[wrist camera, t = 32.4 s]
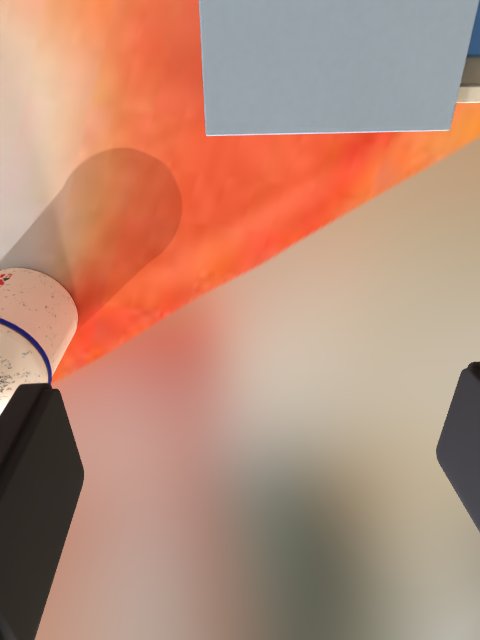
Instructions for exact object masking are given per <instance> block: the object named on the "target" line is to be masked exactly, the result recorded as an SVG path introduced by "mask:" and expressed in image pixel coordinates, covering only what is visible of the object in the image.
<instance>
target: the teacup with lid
mask: <svg viewBox="0 0 480 640" xmlns="http://www.w3.org/2000/svg"><path fill="white" fill-rule="evenodd" d="M77 324H78V313H77V309H76V306H75V303H74V301H73V299H72V298H71V296H70V294H69V293H68V292H67V291H66V290H65V288H64V287H63V286H62V285H60V284H59V283H58V282H57V281H55V280H54V279H52V278H51V277H49V276H47V275H45V274H43V273H41V272H38V271H35V270H31V269H26V268H7V269H3V270H0V415H1V413H2V412H3V410H4V408H5V407H6V405H7V403H8V402H9V400H10V399H11V397H12V395H13V394H14V392H15V390H16V389H17V388H18V386H19V385H21V384H31V383H49V384H50V385H51V381H52V375H53V374H54V372H55V370H56V368H57V366H58V364H59V362H60V360H61V358H62V356H63V354H64V353H65V351H66V349H67V347H68V345H69V343H70V341H71V339H72V337H73V335H74V334H75V331H76V329H77Z"/></svg>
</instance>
